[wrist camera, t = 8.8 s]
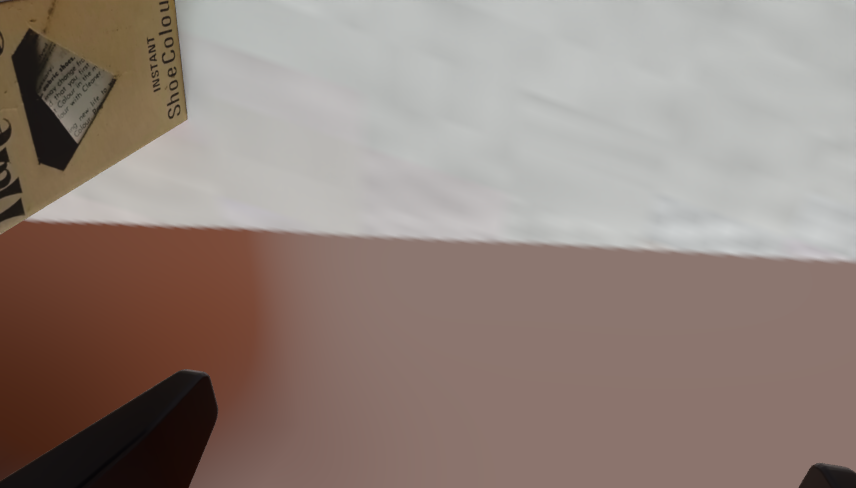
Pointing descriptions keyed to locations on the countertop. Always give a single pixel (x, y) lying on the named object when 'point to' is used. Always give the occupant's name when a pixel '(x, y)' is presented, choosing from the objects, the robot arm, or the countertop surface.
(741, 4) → the countertop surface
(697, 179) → the countertop surface
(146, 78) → the shoe polish box
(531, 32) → the countertop surface
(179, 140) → the countertop surface
